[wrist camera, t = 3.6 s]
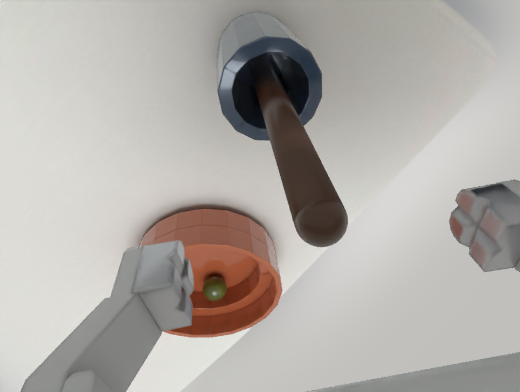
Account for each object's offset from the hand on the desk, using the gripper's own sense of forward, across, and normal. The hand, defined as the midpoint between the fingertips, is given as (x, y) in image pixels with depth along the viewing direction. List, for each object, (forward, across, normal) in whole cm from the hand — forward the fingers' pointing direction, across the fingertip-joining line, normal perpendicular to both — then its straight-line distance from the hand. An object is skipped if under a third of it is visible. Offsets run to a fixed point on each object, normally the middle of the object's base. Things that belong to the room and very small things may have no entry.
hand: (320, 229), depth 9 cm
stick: (+20, 0, 0) cm, 20 cm away
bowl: (+20, +9, +22) cm, 31 cm away
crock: (+20, 0, 0) cm, 20 cm away
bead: (+18, +9, +26) cm, 33 cm away
